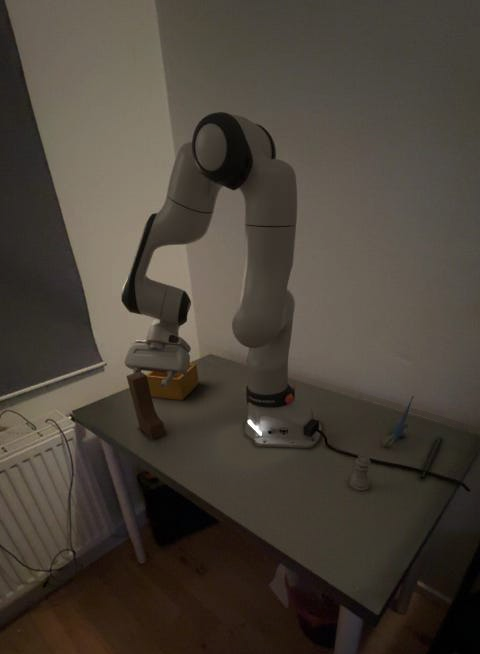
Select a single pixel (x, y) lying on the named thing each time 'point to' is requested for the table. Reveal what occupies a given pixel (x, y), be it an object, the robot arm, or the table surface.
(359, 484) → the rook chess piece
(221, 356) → the table surface
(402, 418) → the dinosaur figurine
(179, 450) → the table surface
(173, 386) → the bin
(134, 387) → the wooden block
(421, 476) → the rod
